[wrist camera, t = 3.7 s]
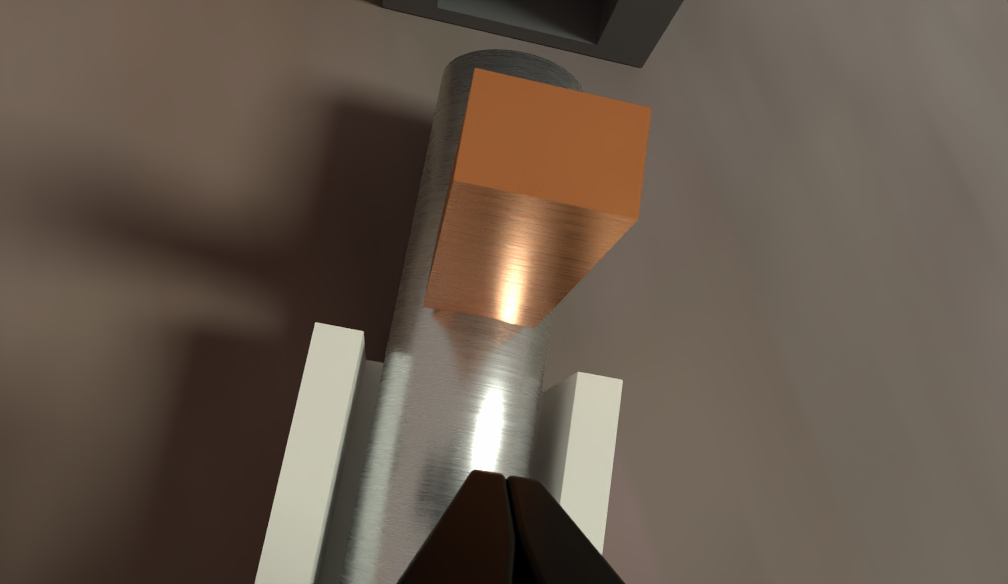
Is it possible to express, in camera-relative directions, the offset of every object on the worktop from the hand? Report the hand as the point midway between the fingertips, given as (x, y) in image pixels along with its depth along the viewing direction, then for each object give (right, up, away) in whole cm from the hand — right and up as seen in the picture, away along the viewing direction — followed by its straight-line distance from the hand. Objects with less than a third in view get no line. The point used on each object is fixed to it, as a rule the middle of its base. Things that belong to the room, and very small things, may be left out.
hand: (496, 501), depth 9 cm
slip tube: (-1, 0, +10) cm, 10 cm away
